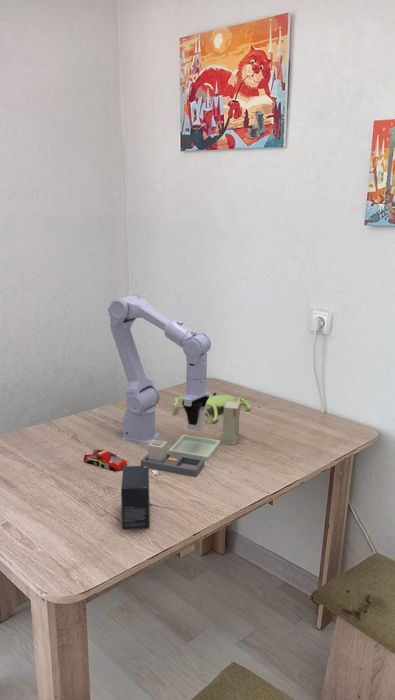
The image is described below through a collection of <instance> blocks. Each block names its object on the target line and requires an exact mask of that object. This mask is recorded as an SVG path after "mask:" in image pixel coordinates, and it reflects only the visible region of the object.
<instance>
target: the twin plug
mask: <svg viewBox="0 0 395 700" xmlns="http://www.w3.org/2000/svg"><path fill="white" fill-rule="evenodd" d="M167 453H168V441H166V440H165V441H164V440H159V439H154V440H153V441H152V442H151V443H148V445H147V454H148V461H153V462H159V463H164V462H165V460H166V459H167Z"/></svg>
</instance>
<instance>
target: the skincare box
mask: <svg viewBox="0 0 395 700" xmlns="http://www.w3.org/2000/svg"><path fill="white" fill-rule="evenodd" d="M240 408H241V401H240V402H237V401H234V402H230V401H226V403H225V406H224V408H223V413H222V415H223V416H222V441H221V442H222V445H228V446H237V444H238V441H239V435H240V433H239V432H240V411H241V410H240Z"/></svg>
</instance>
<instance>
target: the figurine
mask: <svg viewBox="0 0 395 700" xmlns="http://www.w3.org/2000/svg"><path fill="white" fill-rule="evenodd" d="M184 399H185V395H184V396H183V395H182V396H177V397H175V398H174V403H173V404H172V408H173V409H175V408H176V407H177V406H178V405H179V401H183V400H184ZM226 401H230V402H240V403H241V402H242V403H243V404H244V405H245V406H244V409H245V410H246V411H250V410H251V405H250V404H249V403H248V401H247V400H246V399H244V398H242V397H239V398H237V400H236V398H235V396H233V395H229V394H217V392H213V393H212V394H211V393H210V395H209V398H208V400H207V402H206V405H205V406H207V407H211V408H212V409H213V413H214V414H213V417H211V414H210V413H209V411H207V410H206V409H205V422H207V424H210V422H209V420H210V421H211V422H213V423H214V422H216V421H218V417H219V415H218V410H219V409H220V408H221V407H222V408H223V409H224V406H225V403H226ZM206 414H207V416H208V418H209V420H208V418H207V416H206Z"/></svg>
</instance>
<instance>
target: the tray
mask: <svg viewBox="0 0 395 700" xmlns="http://www.w3.org/2000/svg"><path fill="white" fill-rule="evenodd" d="M221 442H222V441H221V440H220V439H218V440H217V439H212V438H205V437H202V436H201V437H200V436H194V435H188V434H183V435H182V434H181V436H180V437H179V438H178V440H176V442H175V443H174V444H172V446H171V447H170V448H169V449H167V453H169V454H175V455H181V456H186V457H192V458H198V459H203V460H205V462H208V461H209V460H210V459H211V458H212V456H213V455H214V454H215V453H216V452H217V450H218V449H219V447H220V446H221Z"/></svg>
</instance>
